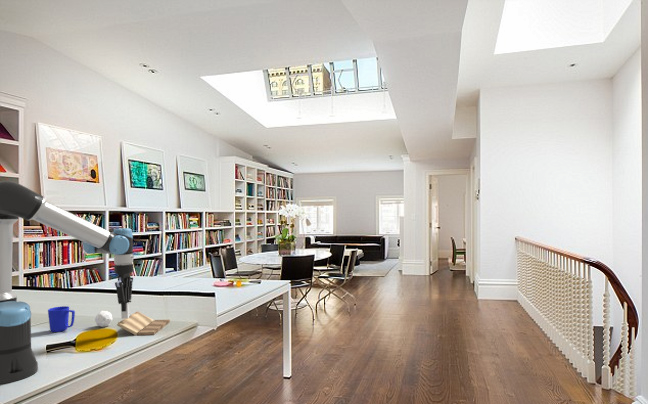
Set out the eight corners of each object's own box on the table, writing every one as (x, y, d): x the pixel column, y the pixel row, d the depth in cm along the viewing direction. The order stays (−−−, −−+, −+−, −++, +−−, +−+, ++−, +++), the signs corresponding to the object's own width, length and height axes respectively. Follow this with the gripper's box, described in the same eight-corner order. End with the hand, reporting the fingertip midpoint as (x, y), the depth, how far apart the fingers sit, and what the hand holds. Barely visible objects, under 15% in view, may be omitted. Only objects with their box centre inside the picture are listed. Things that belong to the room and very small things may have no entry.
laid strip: (154, 334, 184) (154, 331, 184) (136, 335, 183) (136, 332, 183) (170, 322, 204) (169, 319, 204) (154, 322, 203) (154, 319, 203)
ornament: (93, 329, 194) (89, 313, 198) (105, 330, 201) (101, 315, 204) (105, 321, 194) (102, 305, 197) (117, 323, 200) (113, 308, 204)
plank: (135, 335, 183) (137, 332, 183) (116, 325, 183) (118, 322, 183) (153, 322, 203) (154, 319, 203) (136, 313, 203) (137, 310, 203)
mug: (67, 333, 188) (66, 311, 188) (43, 332, 191) (43, 310, 191) (81, 328, 196) (80, 306, 196) (58, 327, 199) (58, 306, 199)
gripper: (126, 265, 180) (127, 322, 180) (138, 261, 193) (140, 314, 193) (107, 266, 180) (109, 322, 180) (121, 262, 193) (123, 314, 193)
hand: (125, 318), depth 186 cm, fingers closed
